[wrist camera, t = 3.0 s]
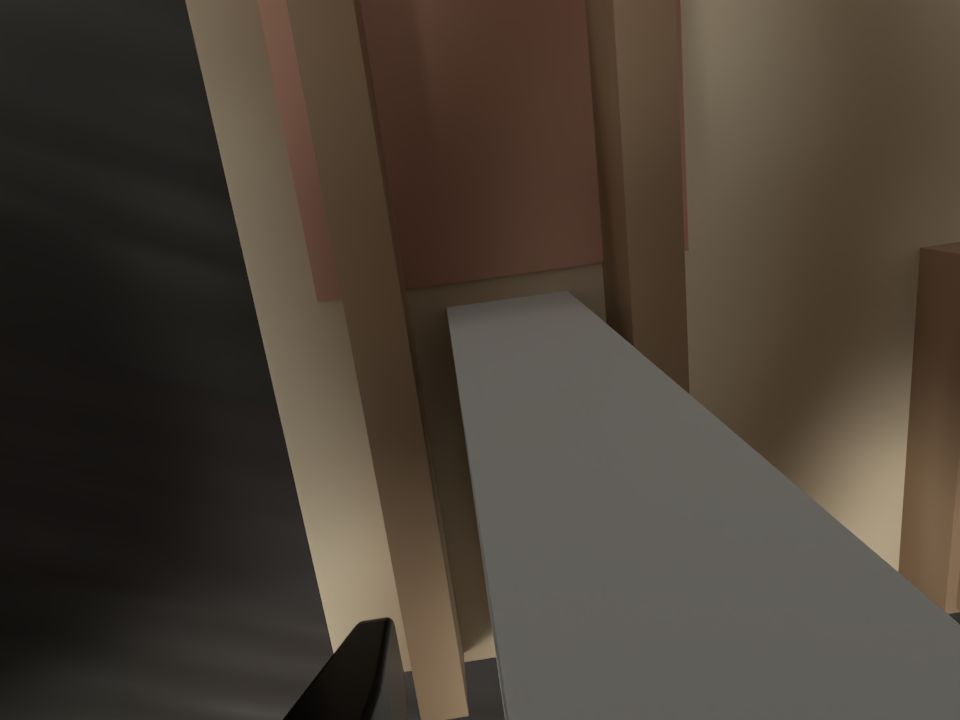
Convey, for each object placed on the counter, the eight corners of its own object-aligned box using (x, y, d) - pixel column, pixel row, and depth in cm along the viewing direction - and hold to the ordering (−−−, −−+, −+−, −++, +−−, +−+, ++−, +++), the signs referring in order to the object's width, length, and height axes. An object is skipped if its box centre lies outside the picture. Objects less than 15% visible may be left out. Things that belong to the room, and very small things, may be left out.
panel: (494, 643, 13) (645, 1680, 4) (446, 307, 11) (534, 884, 2) (597, 627, 13) (965, 1606, 4) (568, 290, 11) (1138, 776, 2)
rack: (345, 652, 13) (329, 748, 11) (164, -165, 9) (83, -268, 7) (1187, 518, 14) (1330, 582, 12) (1354, -291, 10) (1616, -422, 8)
